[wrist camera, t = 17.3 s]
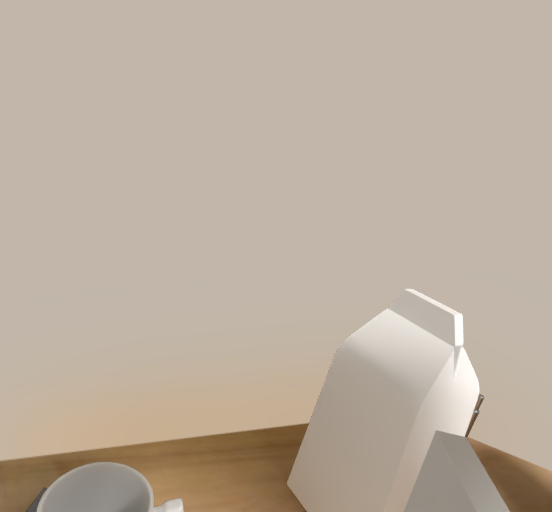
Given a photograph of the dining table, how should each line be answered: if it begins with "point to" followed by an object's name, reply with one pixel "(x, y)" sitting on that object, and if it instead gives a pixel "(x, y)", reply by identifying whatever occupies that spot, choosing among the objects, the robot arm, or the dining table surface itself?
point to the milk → (385, 408)
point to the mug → (103, 491)
